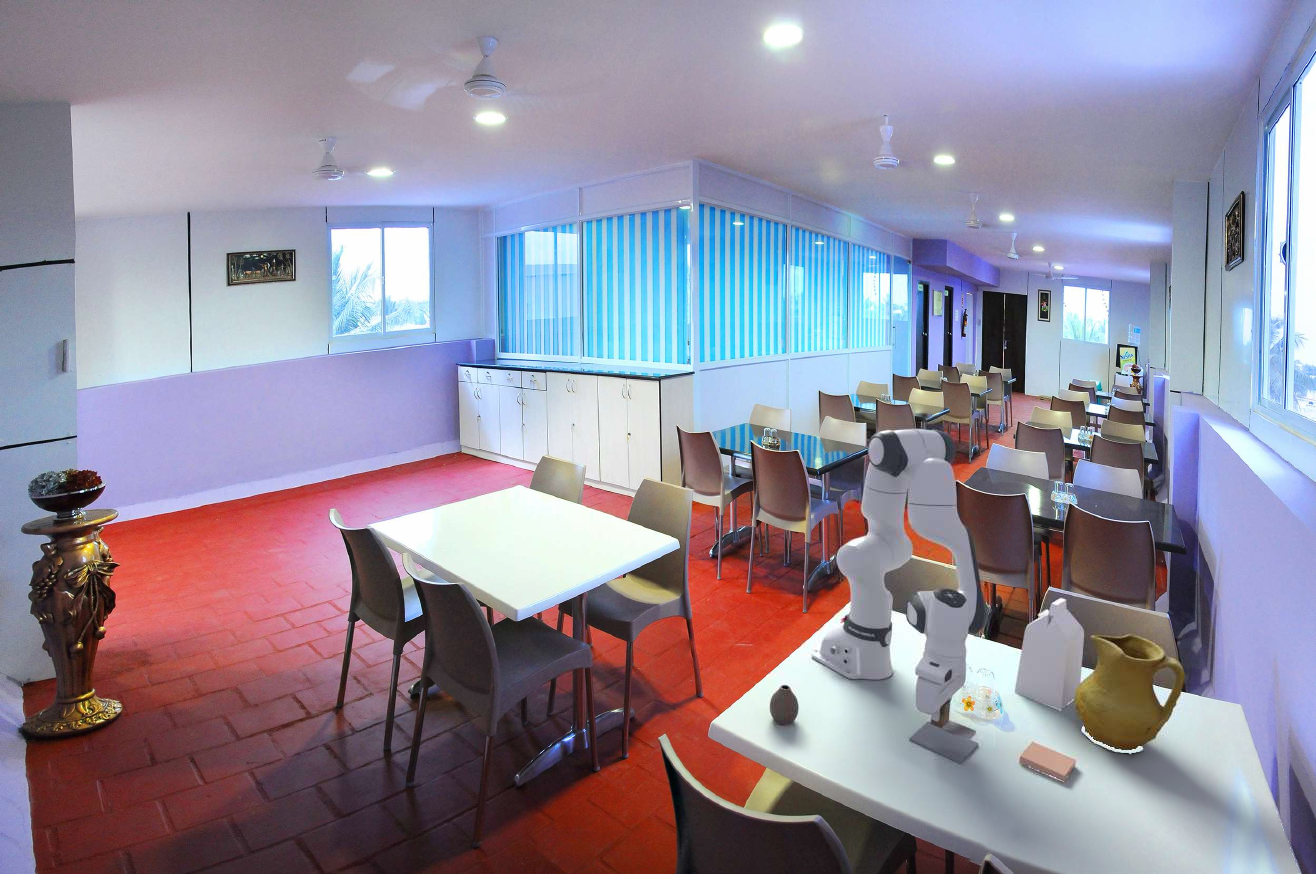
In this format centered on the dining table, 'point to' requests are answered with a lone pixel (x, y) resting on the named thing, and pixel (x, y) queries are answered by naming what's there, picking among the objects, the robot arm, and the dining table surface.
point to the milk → (1051, 657)
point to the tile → (1047, 761)
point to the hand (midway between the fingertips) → (939, 715)
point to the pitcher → (1126, 692)
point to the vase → (784, 705)
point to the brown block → (952, 724)
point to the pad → (943, 742)
